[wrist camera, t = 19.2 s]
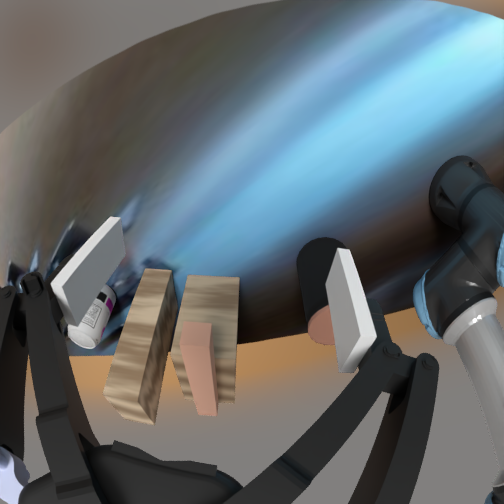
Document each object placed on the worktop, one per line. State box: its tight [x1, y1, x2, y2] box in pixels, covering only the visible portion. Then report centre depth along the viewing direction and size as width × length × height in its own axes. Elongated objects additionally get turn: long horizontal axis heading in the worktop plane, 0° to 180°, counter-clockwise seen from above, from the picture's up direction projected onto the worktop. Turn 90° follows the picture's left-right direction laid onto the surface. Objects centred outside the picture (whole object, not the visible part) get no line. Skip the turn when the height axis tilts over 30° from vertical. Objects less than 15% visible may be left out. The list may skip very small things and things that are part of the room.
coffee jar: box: [297, 237, 347, 345], centre depth 51 cm, size 11×11×18 cm
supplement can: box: [68, 284, 116, 349], centre depth 59 cm, size 8×8×15 cm
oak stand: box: [103, 269, 240, 425], centre depth 55 cm, size 21×20×30 cm
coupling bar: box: [179, 321, 218, 416], centre depth 47 cm, size 28×4×4 cm, turn 177°
